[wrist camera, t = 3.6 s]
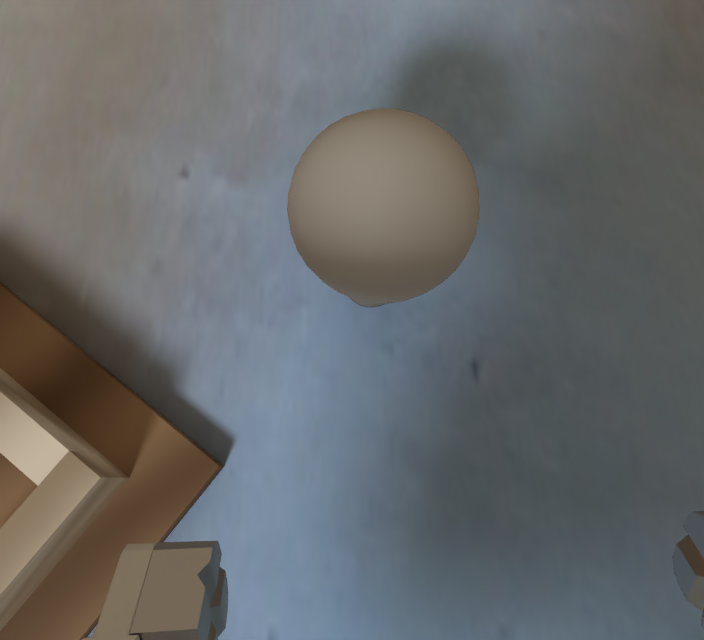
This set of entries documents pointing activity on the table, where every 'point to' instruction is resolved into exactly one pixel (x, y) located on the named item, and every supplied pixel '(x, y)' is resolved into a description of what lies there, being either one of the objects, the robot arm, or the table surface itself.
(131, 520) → the board
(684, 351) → the table surface
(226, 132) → the table surface
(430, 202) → the lightbulb
